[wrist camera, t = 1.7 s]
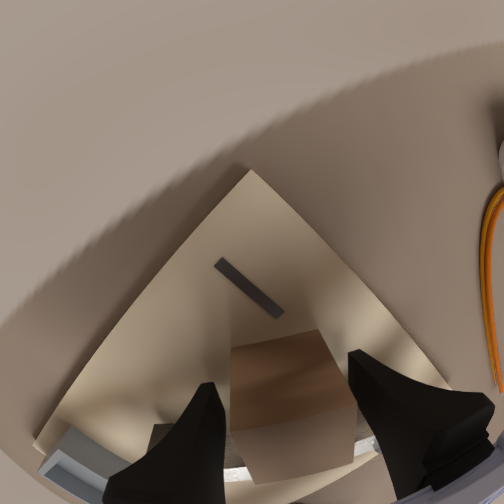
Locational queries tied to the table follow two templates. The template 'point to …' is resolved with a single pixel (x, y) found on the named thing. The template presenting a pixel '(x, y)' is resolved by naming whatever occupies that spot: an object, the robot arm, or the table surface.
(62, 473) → the tray
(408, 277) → the table surface
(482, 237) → the motor
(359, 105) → the table surface
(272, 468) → the block
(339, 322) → the base board
